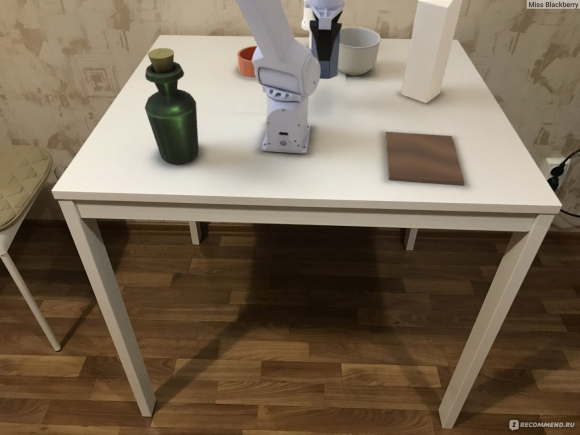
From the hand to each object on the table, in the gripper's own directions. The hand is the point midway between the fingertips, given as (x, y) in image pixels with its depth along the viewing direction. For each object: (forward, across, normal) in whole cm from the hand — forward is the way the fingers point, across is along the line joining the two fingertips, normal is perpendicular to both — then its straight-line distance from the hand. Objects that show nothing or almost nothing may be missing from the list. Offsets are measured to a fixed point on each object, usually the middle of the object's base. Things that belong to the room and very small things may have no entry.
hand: (324, 53), depth 87 cm
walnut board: (+10, +18, +18) cm, 27 cm away
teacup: (+11, -16, +4) cm, 20 cm away
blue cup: (+4, 0, 0) cm, 4 cm away
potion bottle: (+10, +22, -24) cm, 34 cm away
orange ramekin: (+10, -13, -16) cm, 23 cm away
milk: (+11, -6, +20) cm, 24 cm away
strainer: (+11, -27, -3) cm, 30 cm away
